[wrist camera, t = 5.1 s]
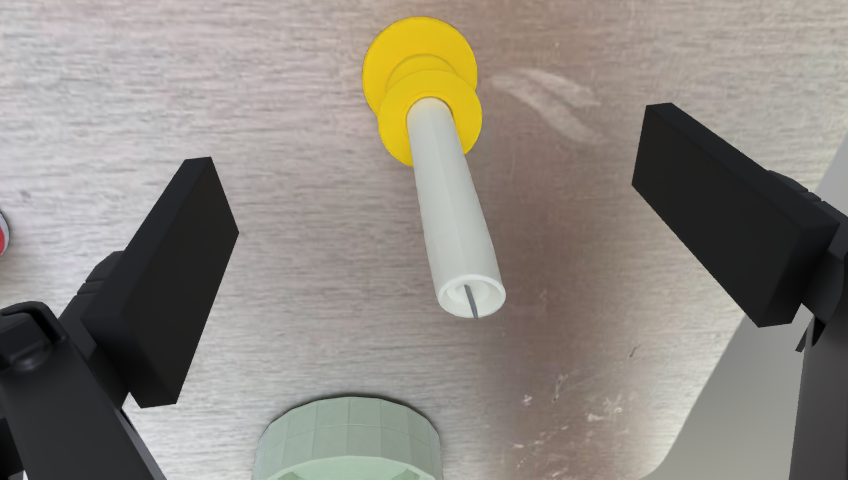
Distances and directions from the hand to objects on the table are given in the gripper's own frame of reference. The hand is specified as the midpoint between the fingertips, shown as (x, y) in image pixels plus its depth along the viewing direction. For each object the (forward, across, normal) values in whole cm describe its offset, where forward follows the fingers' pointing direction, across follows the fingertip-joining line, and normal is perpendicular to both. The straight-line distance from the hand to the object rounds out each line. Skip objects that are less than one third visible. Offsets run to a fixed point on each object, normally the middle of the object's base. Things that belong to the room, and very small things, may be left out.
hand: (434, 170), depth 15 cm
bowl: (+9, -8, -28) cm, 31 cm away
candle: (+9, 0, 0) cm, 9 cm away
